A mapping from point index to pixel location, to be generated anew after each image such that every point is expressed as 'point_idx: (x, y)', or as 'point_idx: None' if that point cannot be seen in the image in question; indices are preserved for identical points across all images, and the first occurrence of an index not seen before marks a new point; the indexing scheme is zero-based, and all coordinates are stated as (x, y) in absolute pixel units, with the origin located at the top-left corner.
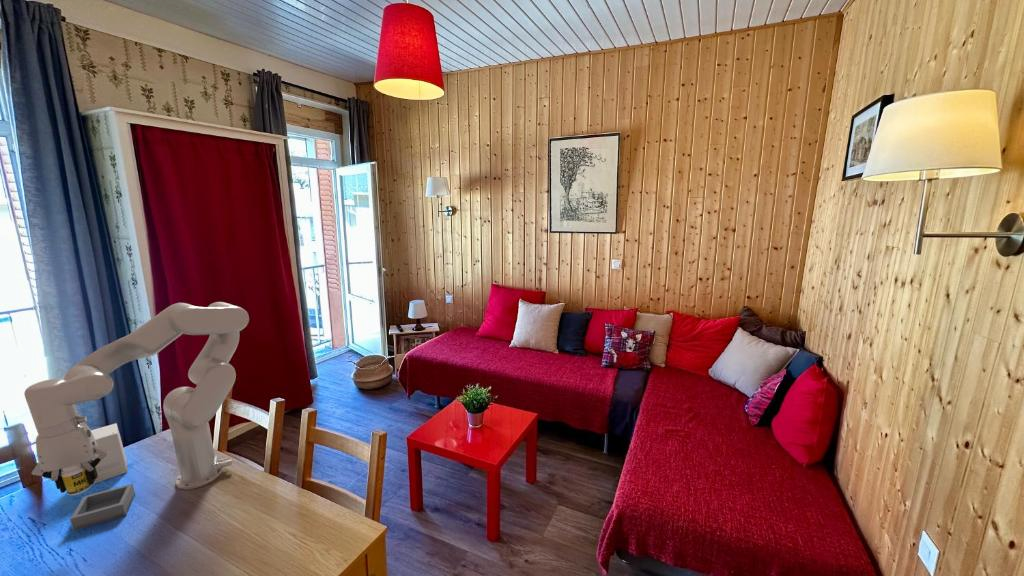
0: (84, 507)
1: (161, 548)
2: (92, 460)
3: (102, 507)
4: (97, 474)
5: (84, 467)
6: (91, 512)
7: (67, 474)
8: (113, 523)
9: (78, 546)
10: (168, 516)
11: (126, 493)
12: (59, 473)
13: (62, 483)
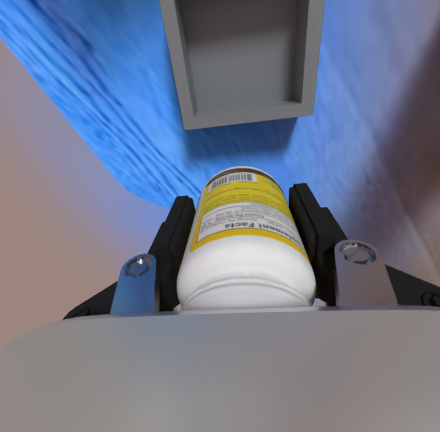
0: (184, 45)
1: None
2: (381, 297)
3: (228, 37)
4: (327, 209)
5: (311, 304)
6: (232, 121)
7: None
8: (276, 130)
9: None
10: (398, 159)
11: (315, 35)
12: (161, 292)
13: None
